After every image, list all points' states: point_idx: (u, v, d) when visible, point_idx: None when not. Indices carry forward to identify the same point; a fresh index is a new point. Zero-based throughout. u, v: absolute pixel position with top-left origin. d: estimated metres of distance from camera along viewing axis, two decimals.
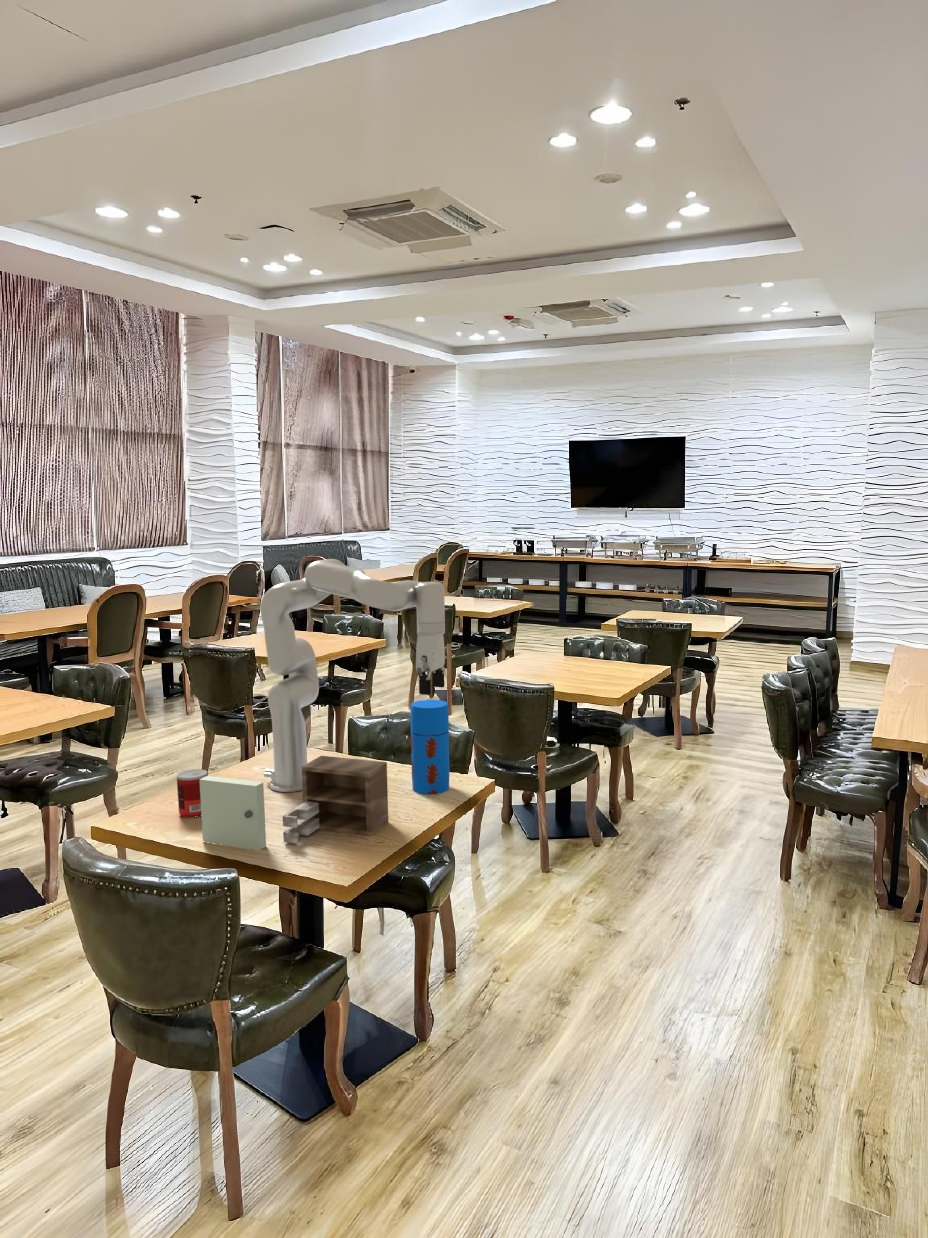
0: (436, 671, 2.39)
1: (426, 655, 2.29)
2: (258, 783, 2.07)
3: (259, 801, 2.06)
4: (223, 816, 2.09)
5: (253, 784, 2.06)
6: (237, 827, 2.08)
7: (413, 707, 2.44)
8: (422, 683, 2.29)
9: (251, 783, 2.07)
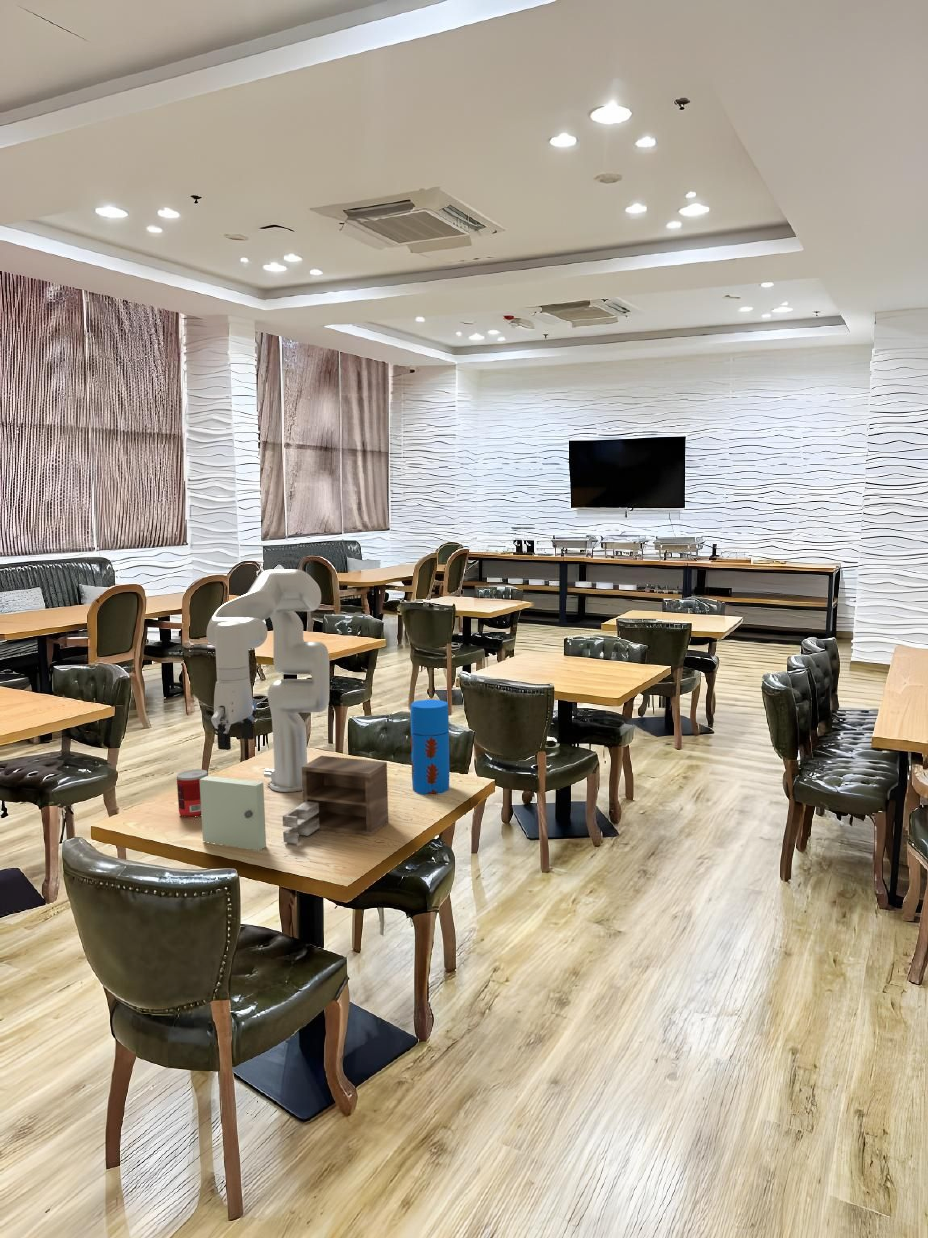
0: (244, 721, 2.12)
1: (224, 705, 2.02)
2: (258, 783, 2.07)
3: (259, 801, 2.06)
4: (223, 816, 2.09)
5: (253, 784, 2.06)
6: (237, 827, 2.08)
7: (413, 707, 2.44)
8: (220, 737, 2.03)
9: (251, 783, 2.07)
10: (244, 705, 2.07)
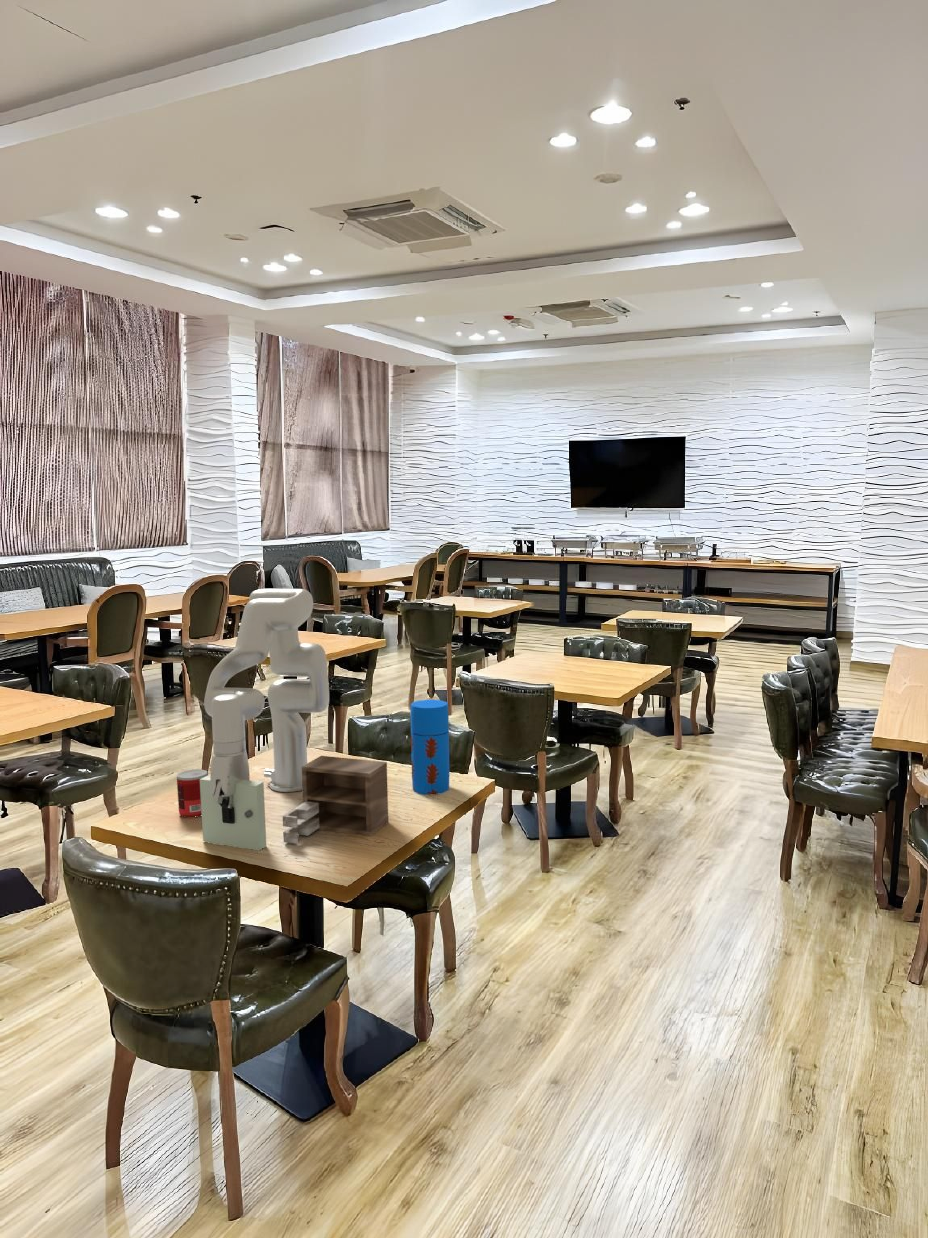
0: None
1: (221, 782, 2.04)
2: (258, 783, 2.07)
3: (259, 801, 2.06)
4: None
5: (253, 784, 2.06)
6: (237, 826, 2.08)
7: (413, 707, 2.44)
8: (224, 811, 2.07)
9: (251, 782, 2.07)
10: (240, 777, 2.08)
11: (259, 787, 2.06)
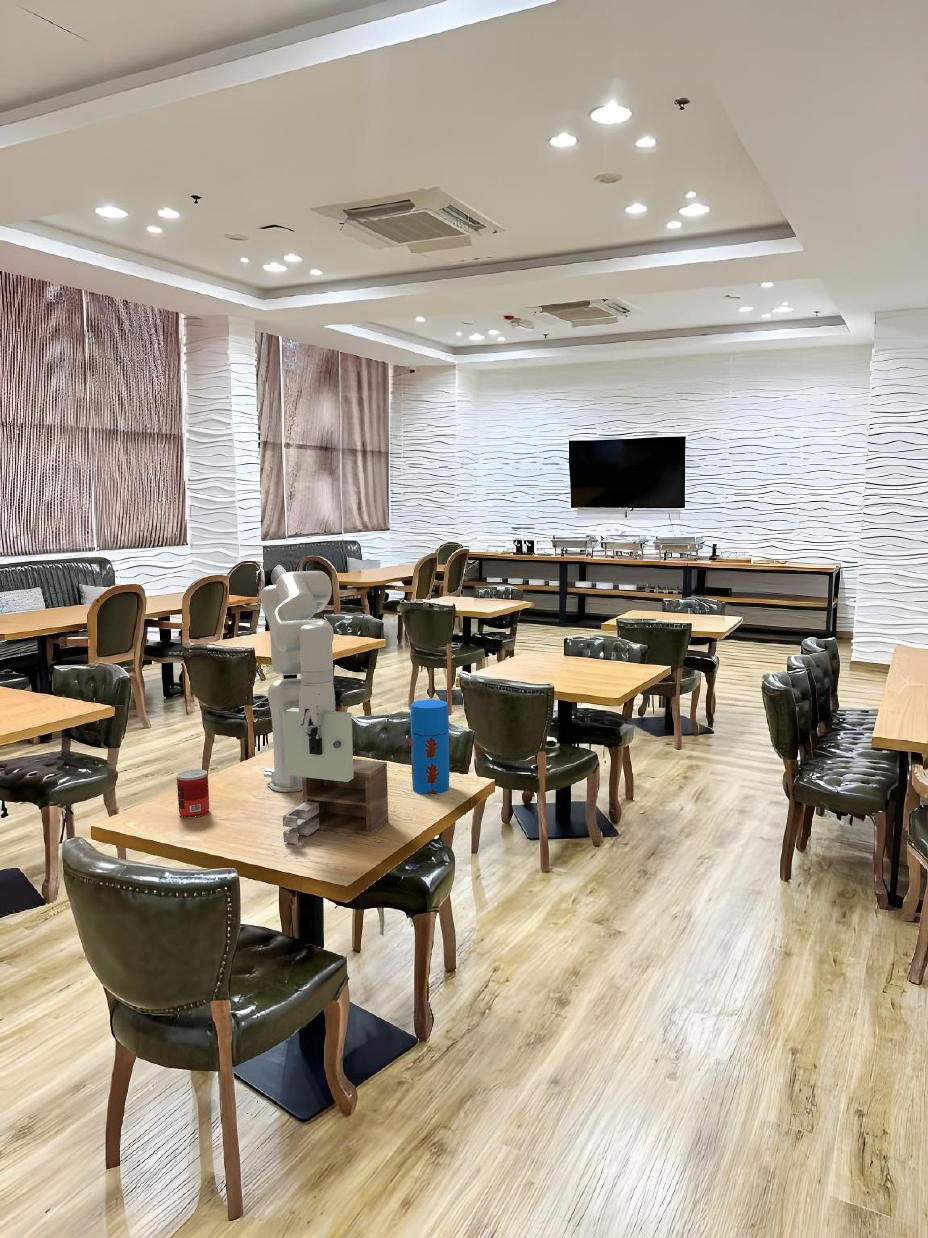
0: None
1: (310, 712, 2.01)
2: (347, 713, 2.04)
3: (348, 731, 2.03)
4: None
5: (342, 714, 2.03)
6: (324, 758, 2.05)
7: (413, 707, 2.44)
8: (312, 742, 2.04)
9: (339, 713, 2.04)
10: (328, 708, 2.06)
11: (348, 717, 2.03)
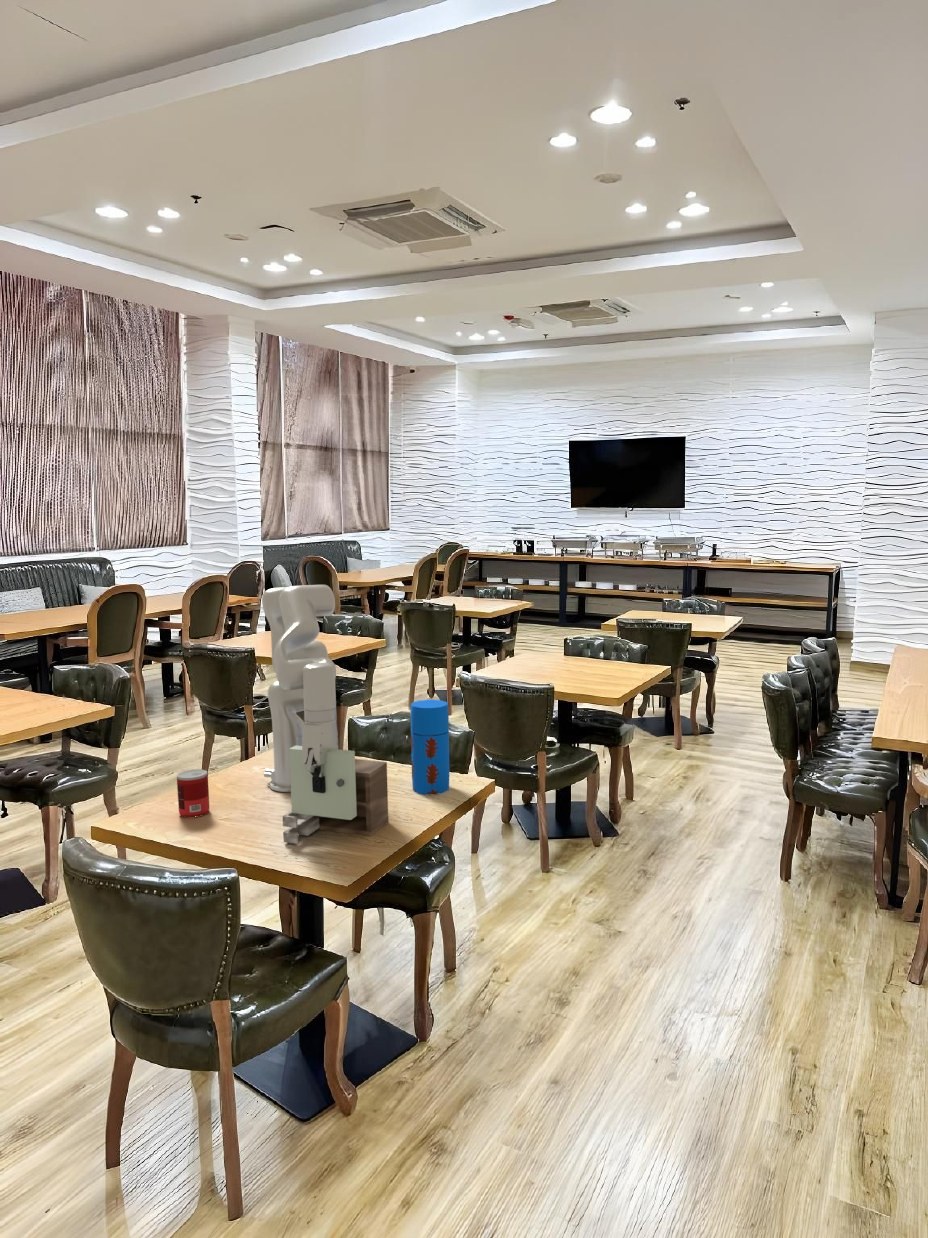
0: None
1: (313, 751, 2.02)
2: (350, 752, 2.05)
3: (351, 770, 2.05)
4: None
5: (345, 752, 2.04)
6: (327, 796, 2.07)
7: (413, 707, 2.44)
8: (315, 780, 2.06)
9: (342, 751, 2.06)
10: (331, 746, 2.07)
11: (351, 756, 2.04)
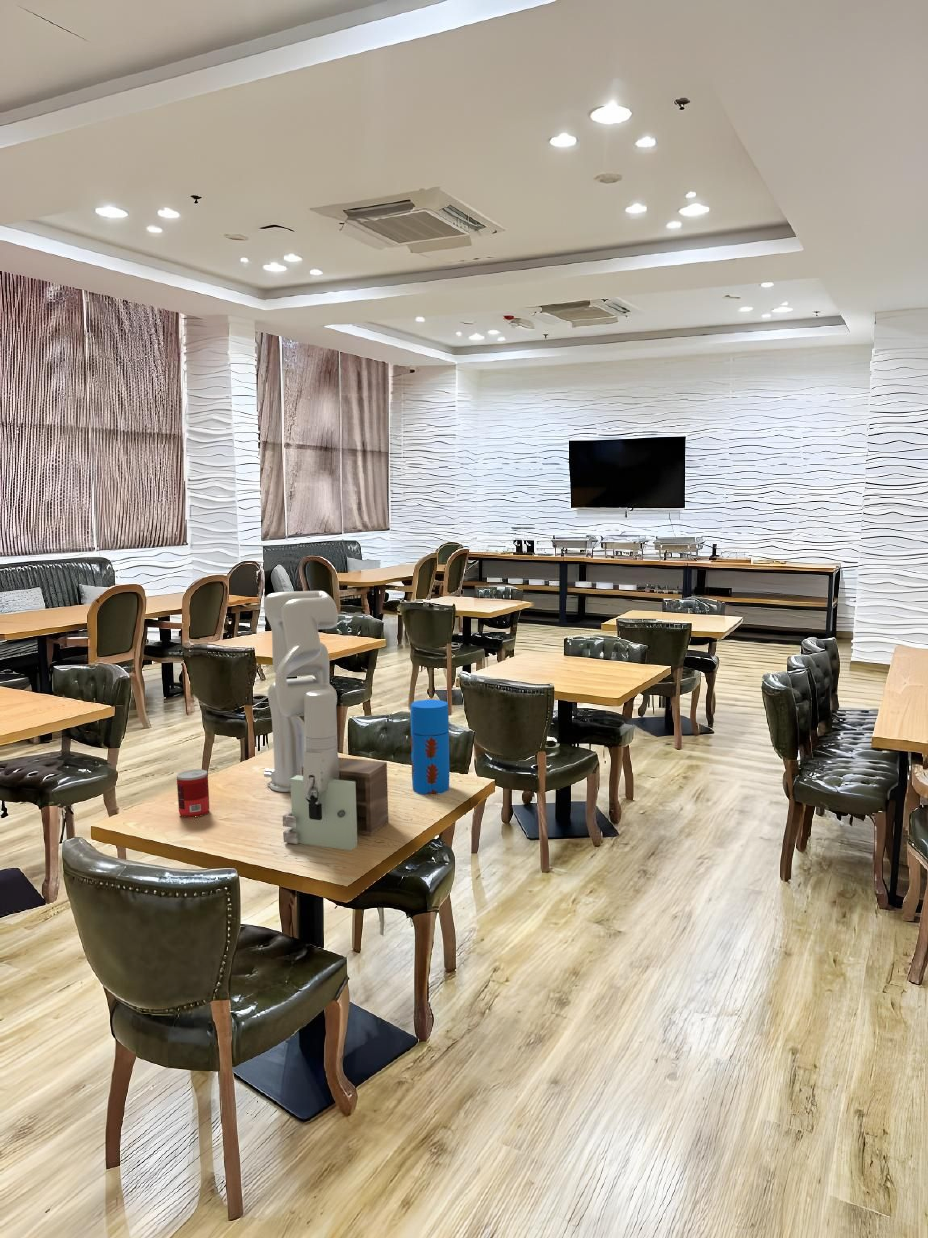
0: None
1: (314, 776, 2.03)
2: (351, 782, 2.06)
3: (352, 800, 2.06)
4: None
5: (346, 783, 2.06)
6: (328, 826, 2.08)
7: (413, 707, 2.44)
8: (311, 807, 2.04)
9: (343, 782, 2.07)
10: (332, 773, 2.08)
11: (352, 787, 2.06)
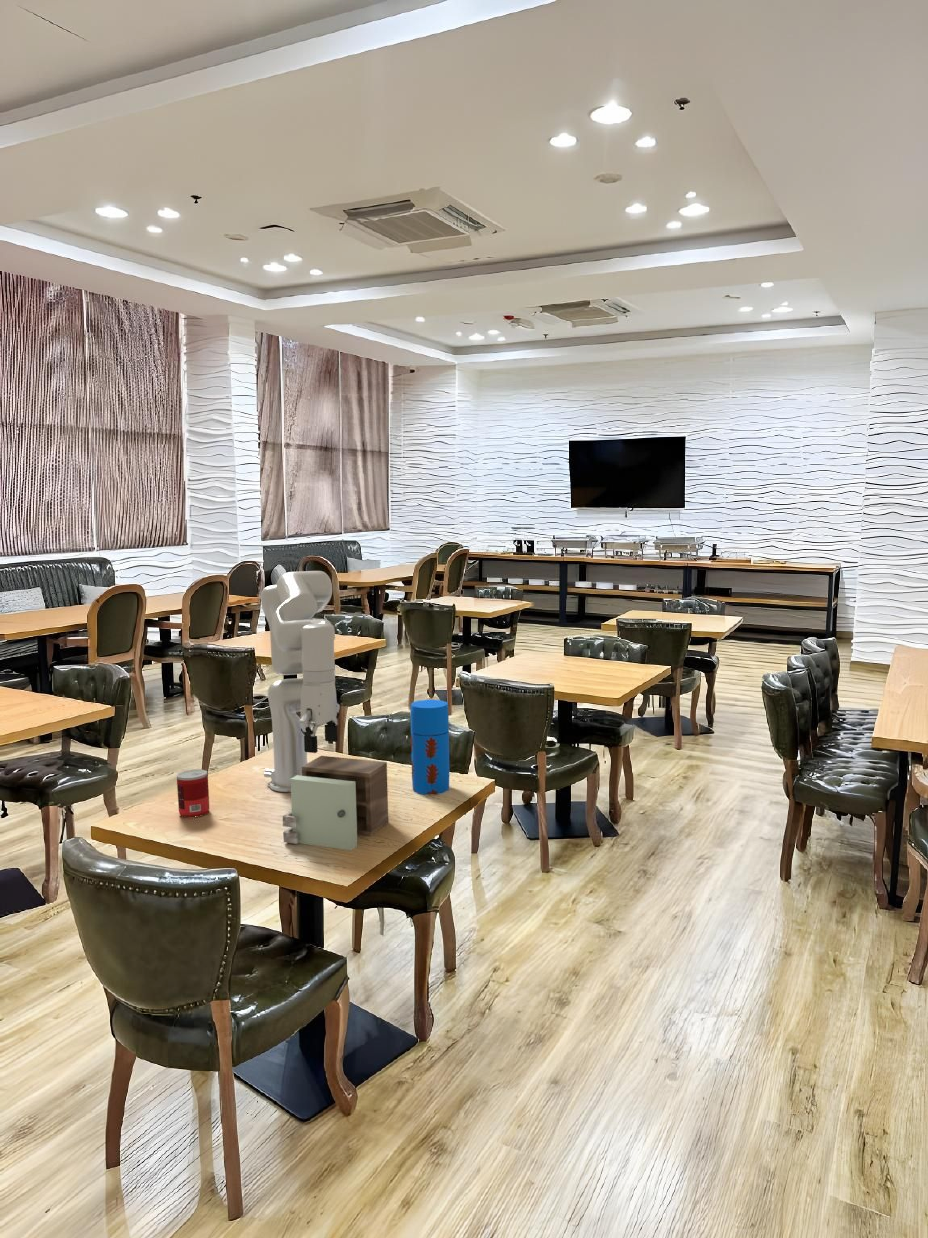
0: (328, 723, 2.11)
1: (311, 708, 2.01)
2: (351, 782, 2.06)
3: (352, 800, 2.06)
4: (315, 815, 2.09)
5: (346, 783, 2.06)
6: (328, 826, 2.08)
7: (413, 707, 2.44)
8: (307, 740, 2.02)
9: (343, 782, 2.07)
10: (330, 708, 2.06)
11: (352, 787, 2.06)
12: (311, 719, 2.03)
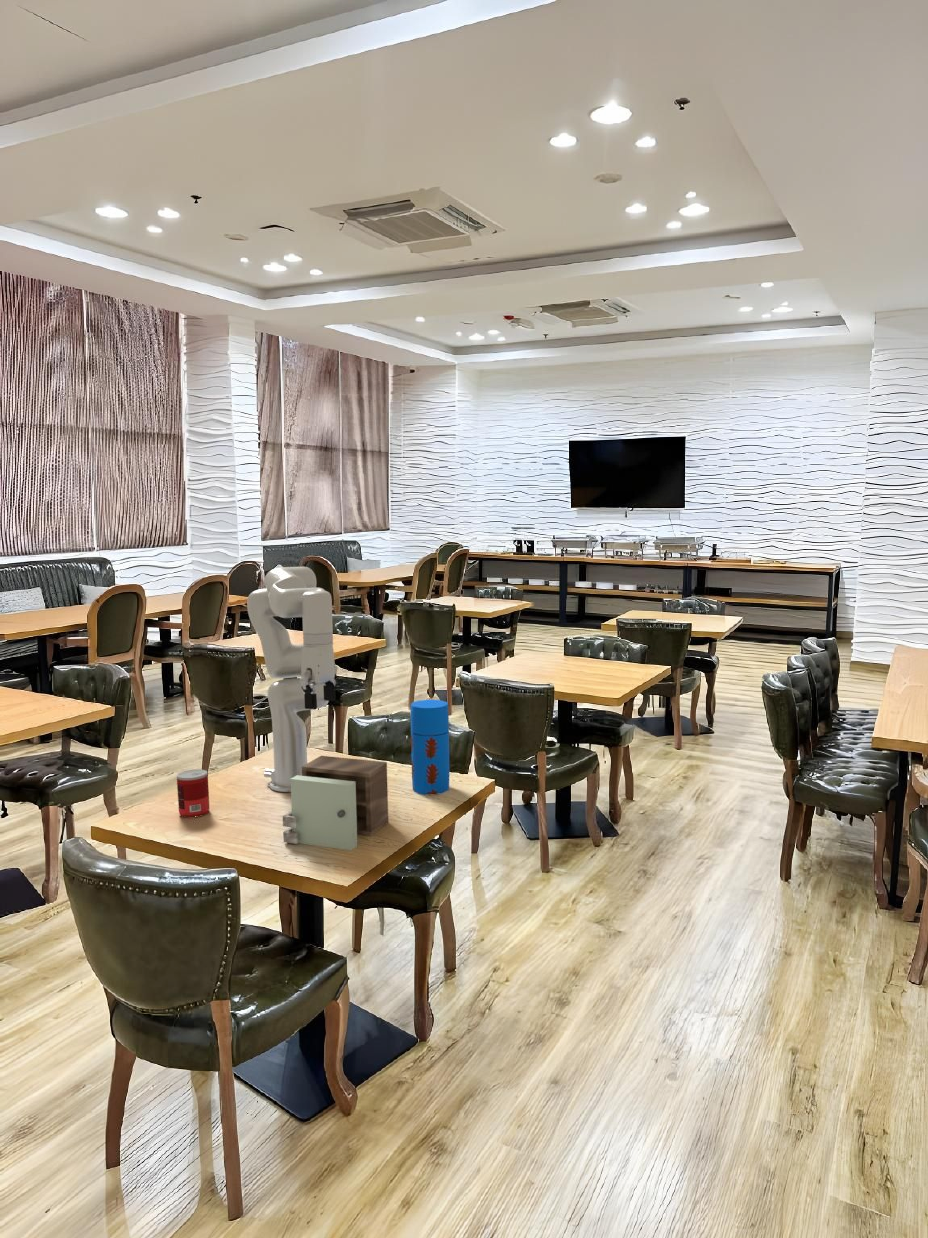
0: (327, 684, 2.28)
1: (311, 668, 2.18)
2: (351, 782, 2.06)
3: (352, 800, 2.06)
4: (315, 815, 2.09)
5: (346, 783, 2.06)
6: (328, 826, 2.08)
7: (413, 707, 2.44)
8: (307, 697, 2.19)
9: (343, 782, 2.07)
10: (328, 668, 2.23)
11: (352, 787, 2.06)
12: (311, 678, 2.20)
